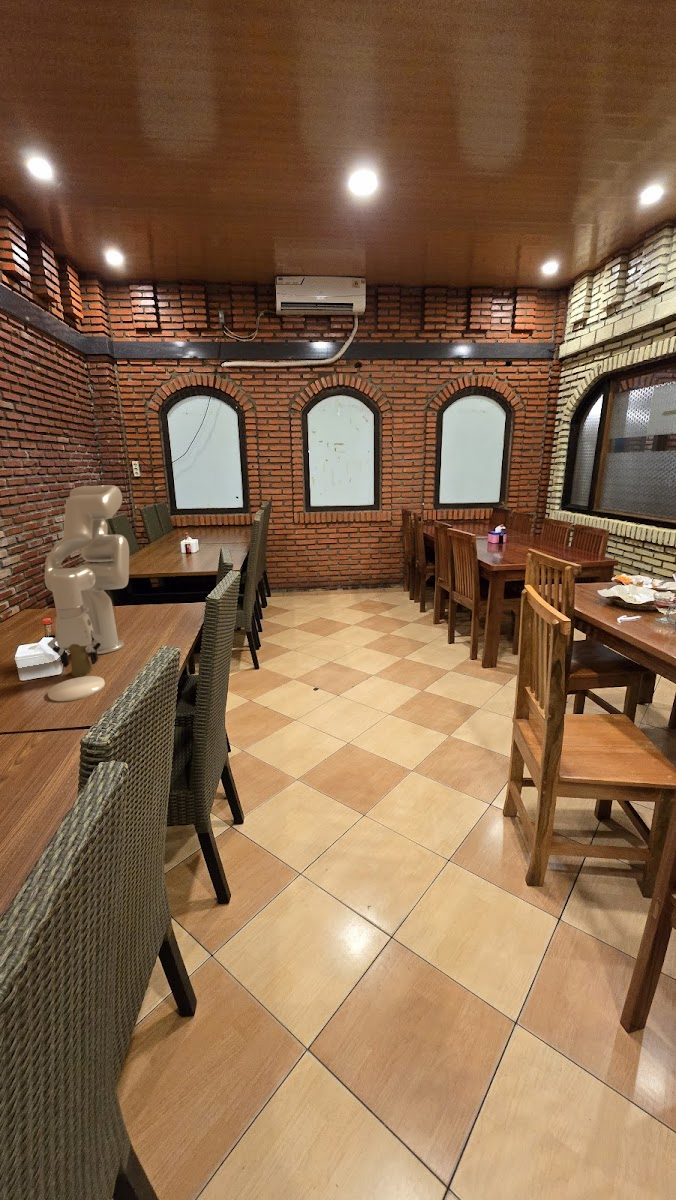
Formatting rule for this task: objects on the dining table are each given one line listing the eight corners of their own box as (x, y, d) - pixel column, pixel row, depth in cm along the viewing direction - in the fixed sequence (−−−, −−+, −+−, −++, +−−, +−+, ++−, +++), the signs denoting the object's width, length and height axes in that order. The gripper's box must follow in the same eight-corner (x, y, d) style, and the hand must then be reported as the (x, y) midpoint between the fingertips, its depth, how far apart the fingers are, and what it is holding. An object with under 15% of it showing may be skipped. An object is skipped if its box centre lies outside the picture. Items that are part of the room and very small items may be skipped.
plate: (59, 682, 149) (59, 679, 148) (110, 676, 151) (110, 673, 151) (39, 704, 134) (38, 700, 134) (96, 697, 137) (95, 694, 136)
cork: (83, 676, 152) (77, 644, 149) (67, 675, 153) (60, 643, 150) (96, 669, 158) (90, 637, 155) (80, 668, 159) (74, 636, 156)
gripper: (103, 606, 155) (112, 657, 160) (45, 611, 152) (56, 662, 157) (96, 612, 148) (105, 665, 153) (35, 617, 145) (46, 671, 150)
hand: (80, 663), depth 155 cm, fingers open, 7 cm apart
